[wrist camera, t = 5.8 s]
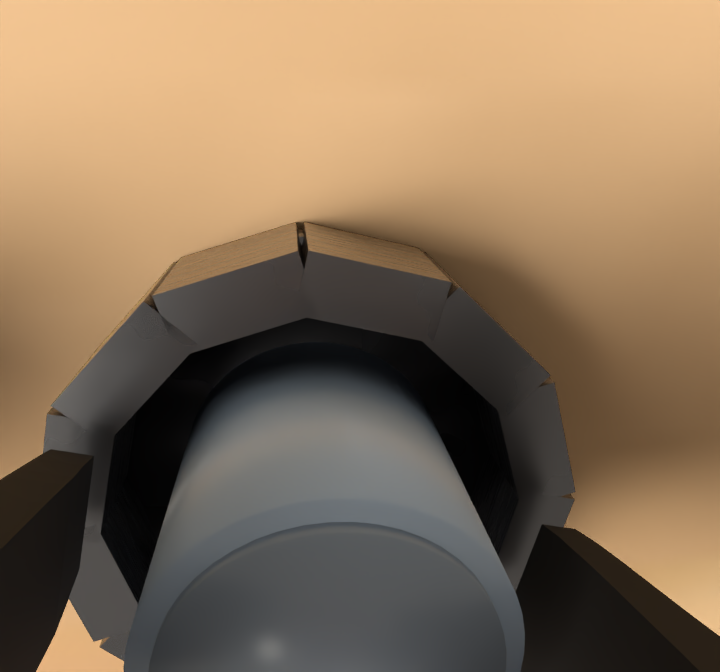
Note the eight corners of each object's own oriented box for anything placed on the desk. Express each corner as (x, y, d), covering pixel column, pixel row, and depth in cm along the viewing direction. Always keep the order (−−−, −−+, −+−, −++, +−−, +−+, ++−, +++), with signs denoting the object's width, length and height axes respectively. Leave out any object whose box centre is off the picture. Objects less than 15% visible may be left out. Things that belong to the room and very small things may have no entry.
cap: (397, 574, 13) (459, 837, 8) (168, 540, 12) (92, 812, 8) (466, 371, 12) (589, 545, 7) (214, 316, 11) (157, 473, 6)
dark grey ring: (450, 630, 15) (481, 729, 13) (67, 586, 14) (18, 689, 11) (575, 283, 12) (644, 324, 10) (118, 179, 11) (69, 197, 8)
